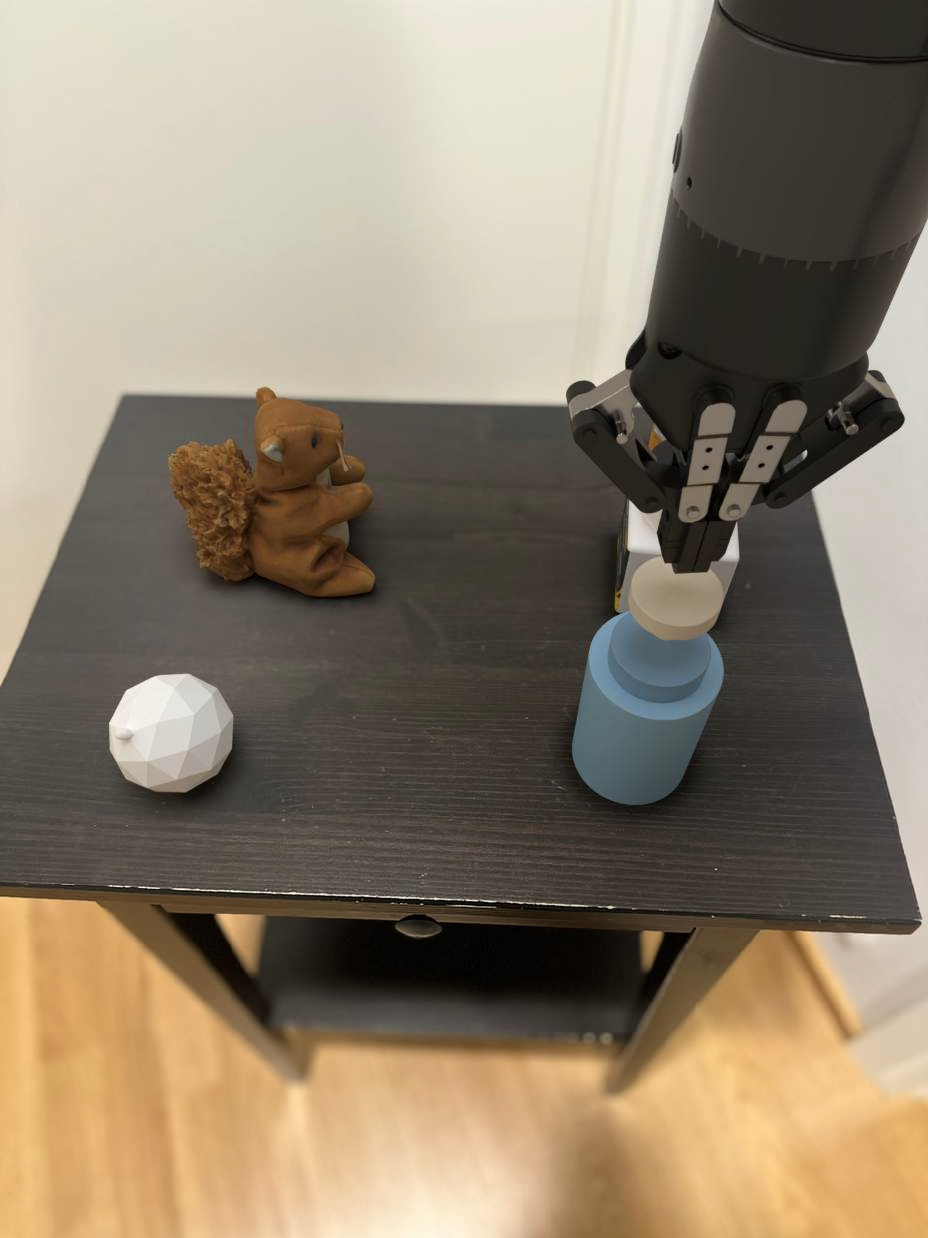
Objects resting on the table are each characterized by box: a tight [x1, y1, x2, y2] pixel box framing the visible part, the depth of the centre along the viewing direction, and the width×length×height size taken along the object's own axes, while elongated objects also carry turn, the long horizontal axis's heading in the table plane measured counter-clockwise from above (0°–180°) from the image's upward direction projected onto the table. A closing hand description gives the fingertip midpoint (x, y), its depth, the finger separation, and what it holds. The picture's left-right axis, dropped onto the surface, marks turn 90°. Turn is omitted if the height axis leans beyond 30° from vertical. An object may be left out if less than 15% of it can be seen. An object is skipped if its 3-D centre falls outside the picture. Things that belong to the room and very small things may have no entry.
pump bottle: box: [571, 611, 725, 806], centre depth 50 cm, size 7×7×12 cm
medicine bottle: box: [614, 440, 740, 614], centre depth 58 cm, size 7×7×12 cm
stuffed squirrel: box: [167, 386, 376, 598], centre depth 60 cm, size 10×14×13 cm
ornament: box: [108, 673, 234, 793], centre depth 52 cm, size 7×7×8 cm
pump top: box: [628, 556, 725, 641], centre depth 43 cm, size 4×4×3 cm
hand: (686, 558), depth 40 cm, fingers closed
